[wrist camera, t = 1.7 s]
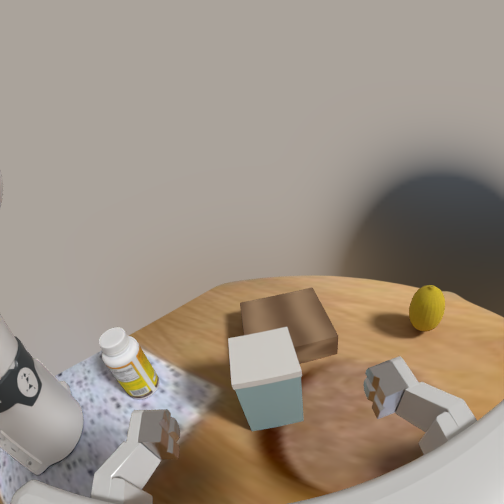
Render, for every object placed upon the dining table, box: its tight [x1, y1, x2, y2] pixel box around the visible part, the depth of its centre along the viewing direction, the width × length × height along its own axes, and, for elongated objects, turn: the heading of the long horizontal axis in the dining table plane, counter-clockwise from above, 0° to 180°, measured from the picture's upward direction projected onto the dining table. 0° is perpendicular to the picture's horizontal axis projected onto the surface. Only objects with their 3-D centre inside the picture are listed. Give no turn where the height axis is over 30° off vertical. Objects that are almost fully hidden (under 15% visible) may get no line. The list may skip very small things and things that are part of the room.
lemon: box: [409, 285, 445, 331], centre depth 33 cm, size 6×6×8 cm
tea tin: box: [228, 327, 303, 431], centre depth 27 cm, size 6×6×10 cm
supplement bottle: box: [99, 327, 159, 399], centre depth 32 cm, size 6×6×10 cm
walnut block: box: [240, 288, 338, 364], centre depth 39 cm, size 12×12×4 cm
